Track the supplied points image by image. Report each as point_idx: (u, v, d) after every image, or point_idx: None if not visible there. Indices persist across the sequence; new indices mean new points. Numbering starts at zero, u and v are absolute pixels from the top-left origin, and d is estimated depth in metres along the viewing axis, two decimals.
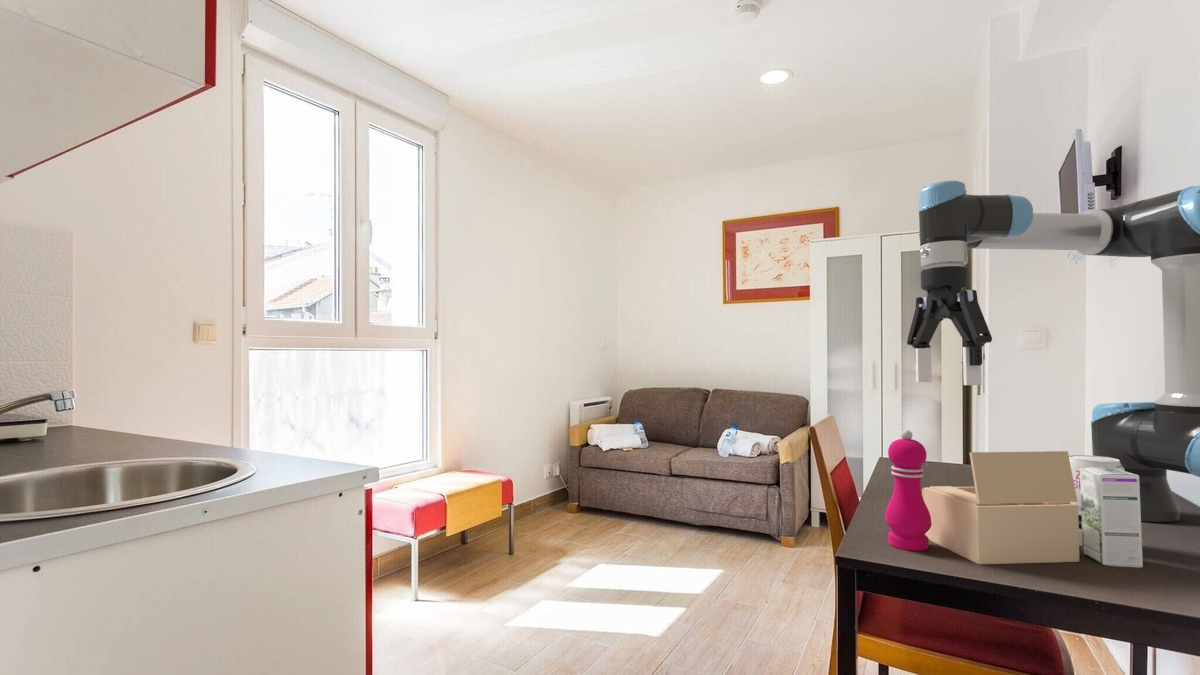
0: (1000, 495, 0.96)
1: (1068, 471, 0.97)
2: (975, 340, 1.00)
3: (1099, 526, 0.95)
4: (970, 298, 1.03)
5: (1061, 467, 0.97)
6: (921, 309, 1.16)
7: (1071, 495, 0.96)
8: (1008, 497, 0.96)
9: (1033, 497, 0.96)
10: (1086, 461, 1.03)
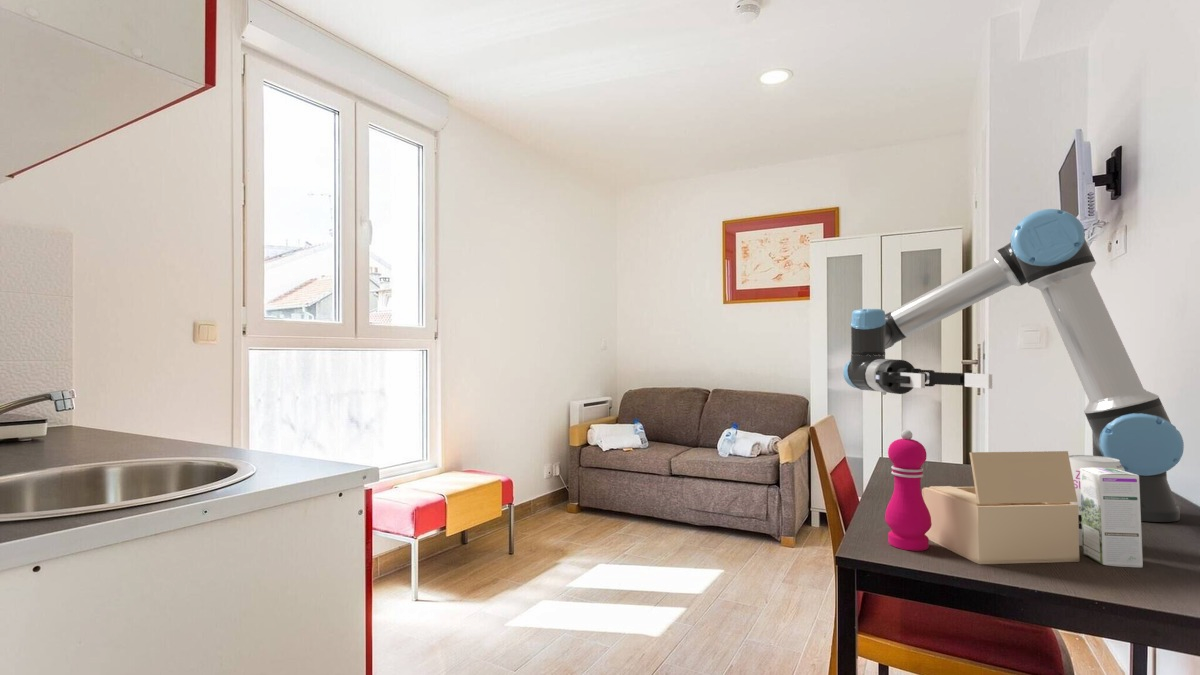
0: (1000, 495, 0.96)
1: (1068, 471, 0.97)
2: (886, 385, 1.20)
3: (1099, 526, 0.95)
4: (878, 377, 1.27)
5: (1061, 467, 0.97)
6: None
7: (1071, 495, 0.96)
8: (1008, 497, 0.96)
9: (1033, 497, 0.96)
10: (1086, 461, 1.03)
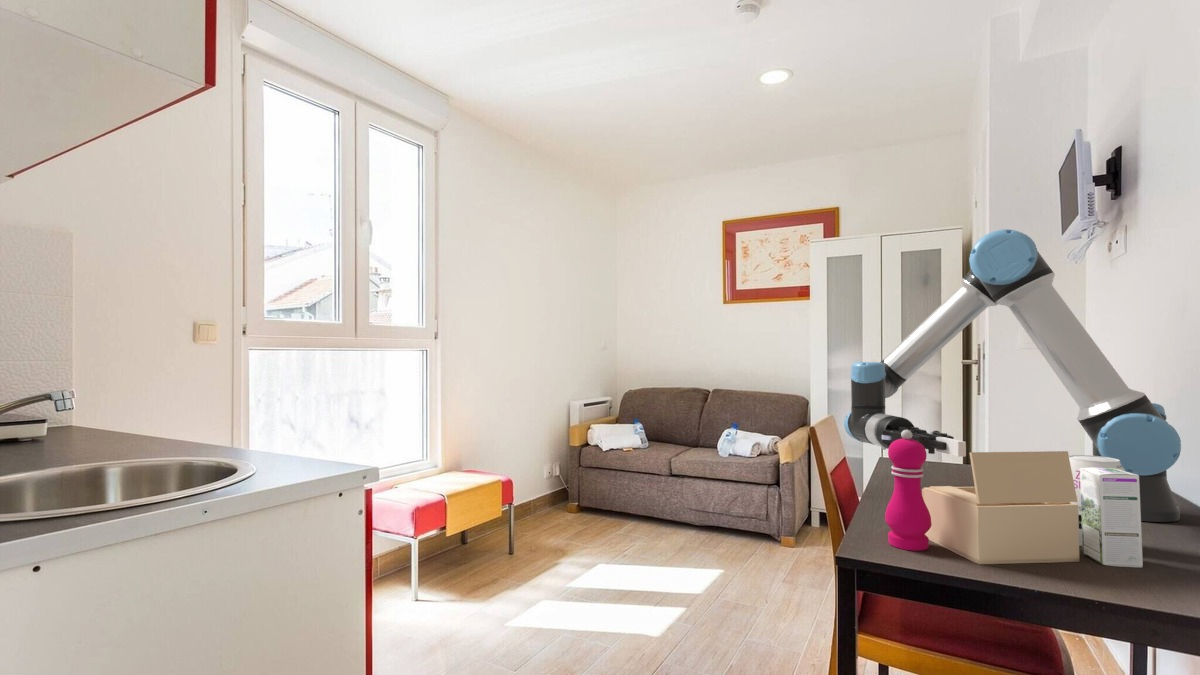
0: (1000, 495, 0.96)
1: (1068, 471, 0.97)
2: None
3: (1099, 526, 0.95)
4: (888, 438, 1.26)
5: (1061, 467, 0.97)
6: None
7: (1071, 495, 0.96)
8: (1008, 497, 0.96)
9: (1033, 497, 0.96)
10: (1086, 461, 1.03)
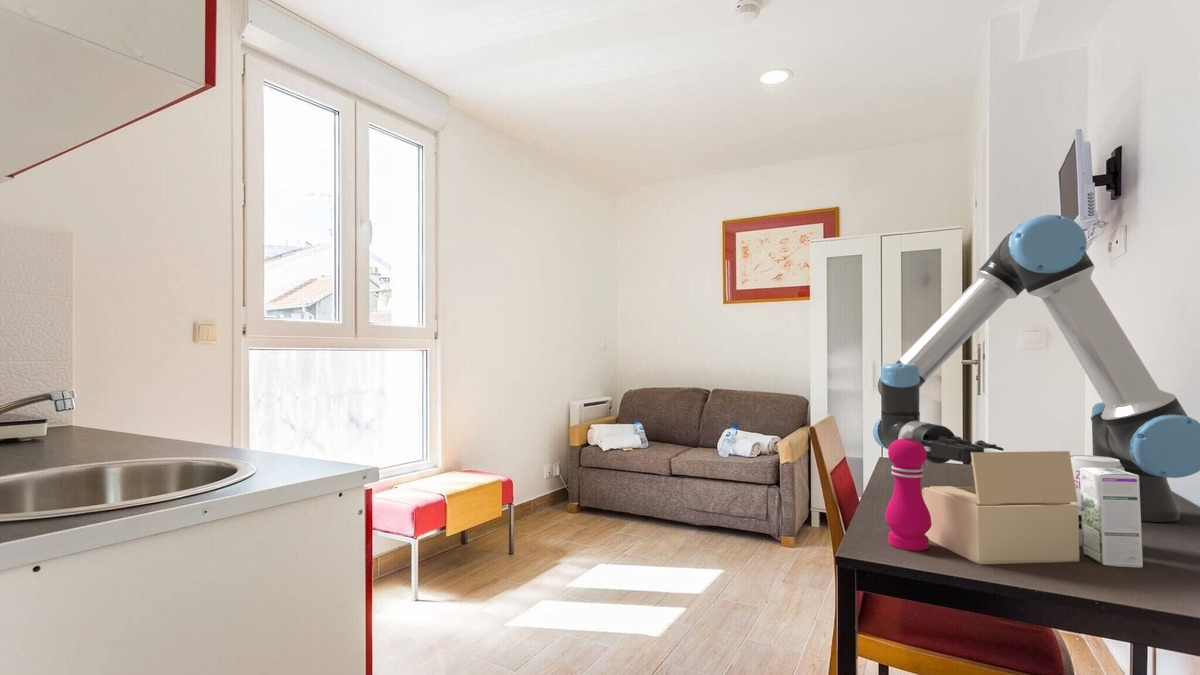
0: (1000, 495, 0.96)
1: (1069, 471, 0.97)
2: (967, 462, 1.05)
3: (1099, 526, 0.95)
4: (927, 449, 1.12)
5: (1062, 467, 0.97)
6: None
7: (1072, 495, 0.96)
8: (1008, 497, 0.96)
9: (1033, 497, 0.96)
10: (1086, 461, 1.03)
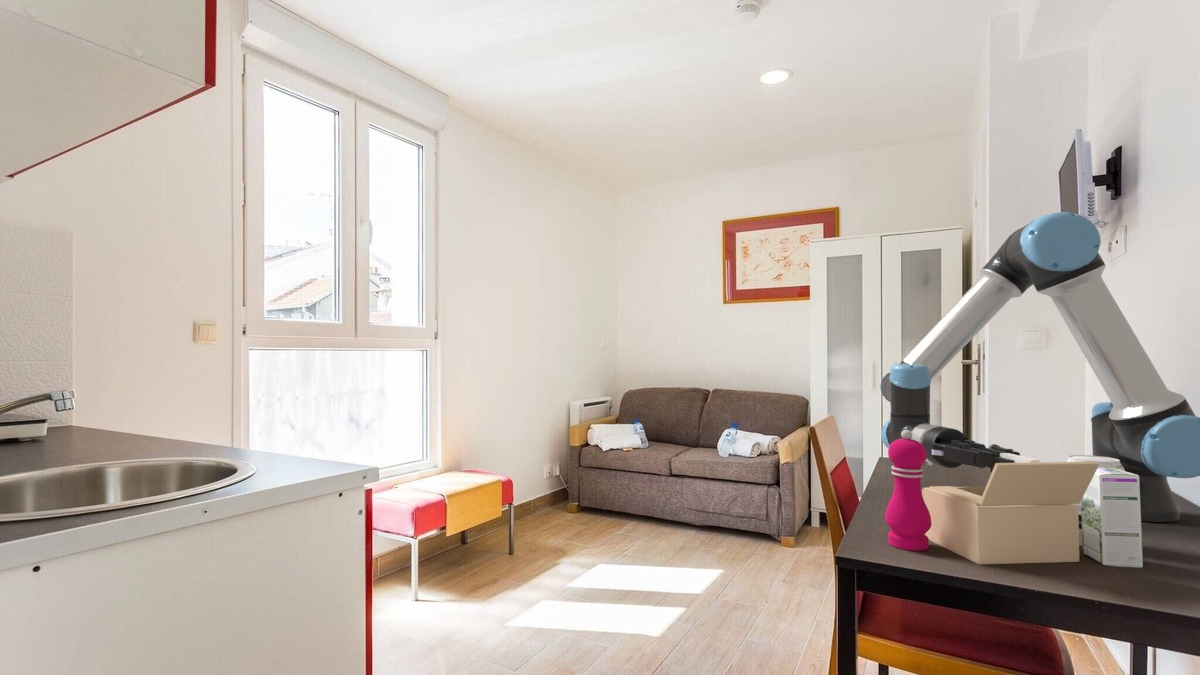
0: (1006, 499, 0.94)
1: (1087, 479, 0.94)
2: (982, 467, 1.01)
3: (1099, 526, 0.95)
4: (940, 453, 1.08)
5: (1083, 476, 0.93)
6: None
7: (1077, 498, 0.95)
8: (1012, 500, 0.95)
9: (1037, 500, 0.95)
10: (1086, 461, 1.03)
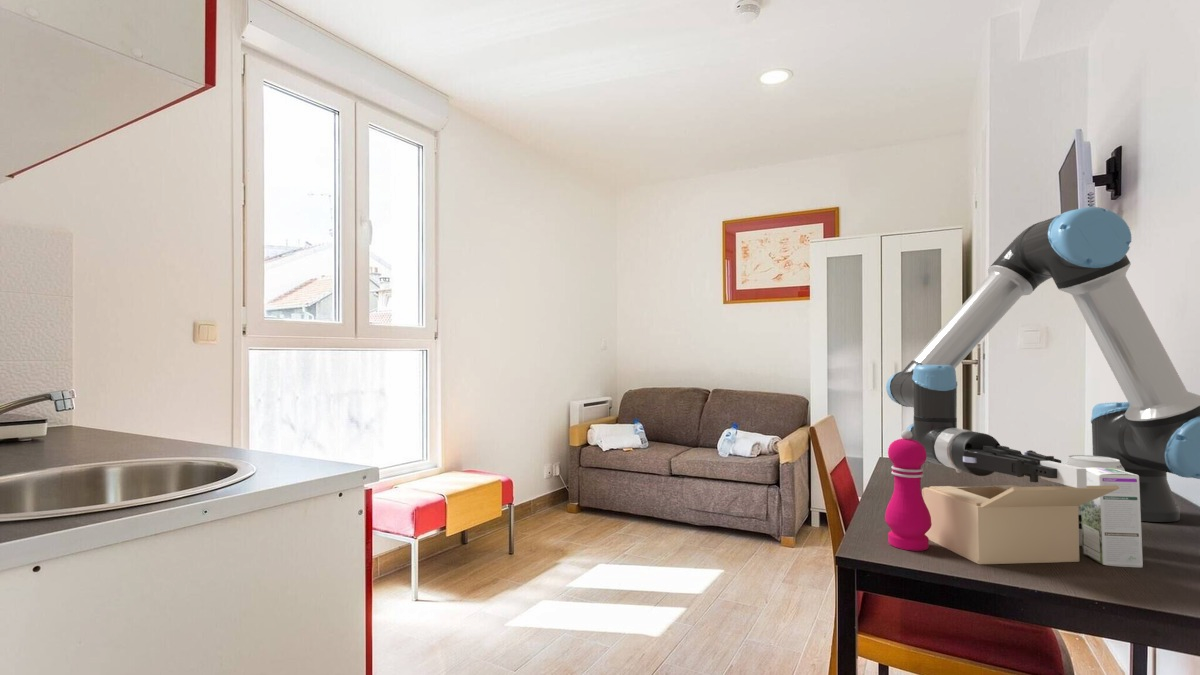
0: (1008, 504, 0.94)
1: (1099, 495, 0.92)
2: None
3: (1099, 526, 0.95)
4: (972, 460, 1.00)
5: (1096, 494, 0.91)
6: None
7: (1080, 503, 0.95)
8: (1015, 505, 0.94)
9: (1040, 504, 0.95)
10: (1086, 461, 1.03)
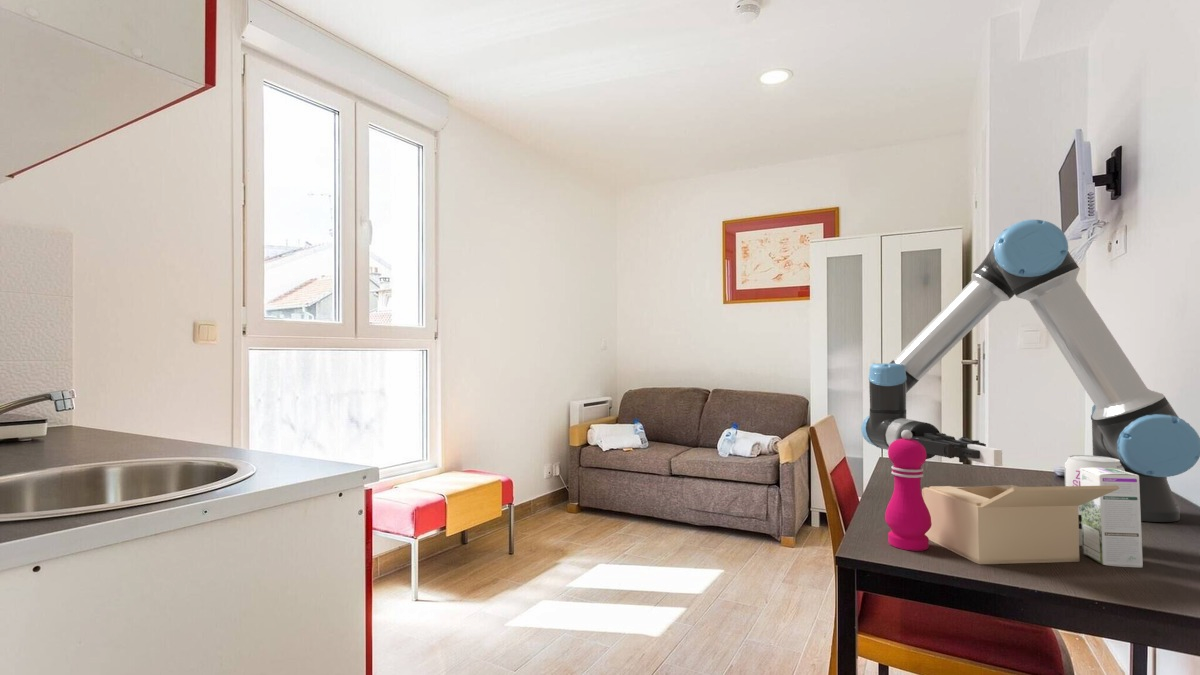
0: (1008, 504, 0.94)
1: (1099, 495, 0.92)
2: (952, 457, 1.10)
3: (1099, 526, 0.95)
4: None
5: (1096, 494, 0.91)
6: None
7: (1080, 503, 0.95)
8: (1015, 505, 0.94)
9: (1040, 504, 0.95)
10: (1086, 461, 1.03)
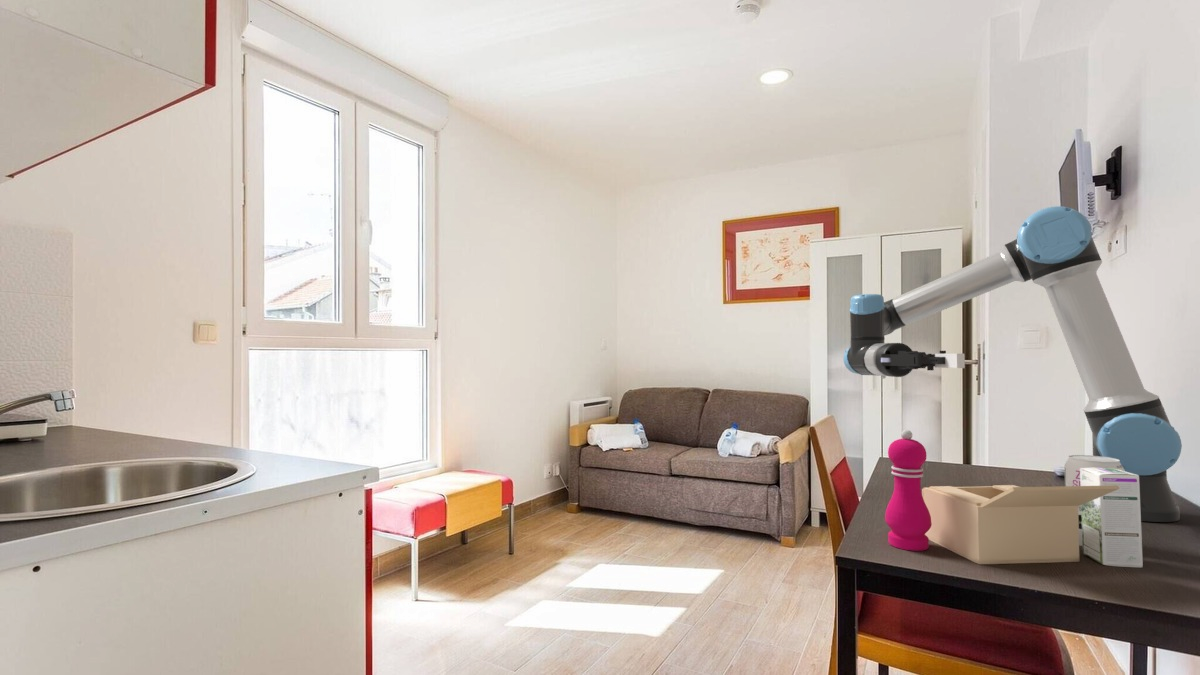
0: (1008, 504, 0.94)
1: (1099, 495, 0.92)
2: (920, 366, 1.19)
3: (1099, 526, 0.95)
4: (887, 360, 1.26)
5: (1096, 494, 0.91)
6: None
7: (1080, 503, 0.95)
8: (1015, 505, 0.94)
9: (1040, 504, 0.95)
10: (1086, 461, 1.03)
